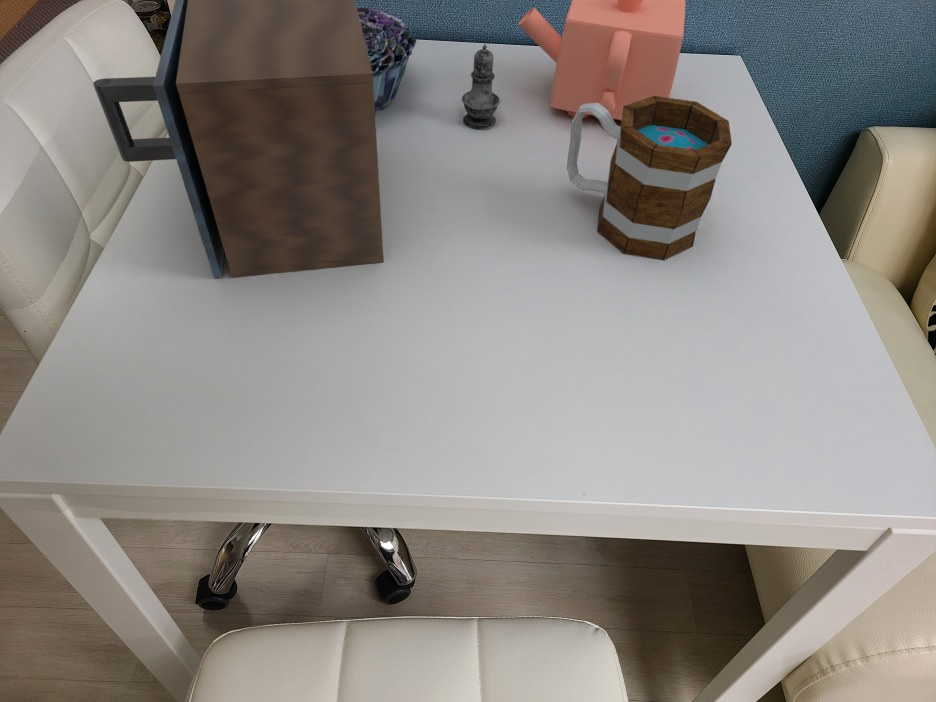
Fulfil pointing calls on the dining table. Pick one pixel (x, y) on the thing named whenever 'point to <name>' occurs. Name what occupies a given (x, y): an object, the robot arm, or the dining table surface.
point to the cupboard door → (177, 128)
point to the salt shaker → (481, 93)
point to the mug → (655, 173)
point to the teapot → (611, 51)
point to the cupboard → (284, 131)
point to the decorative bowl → (385, 52)
